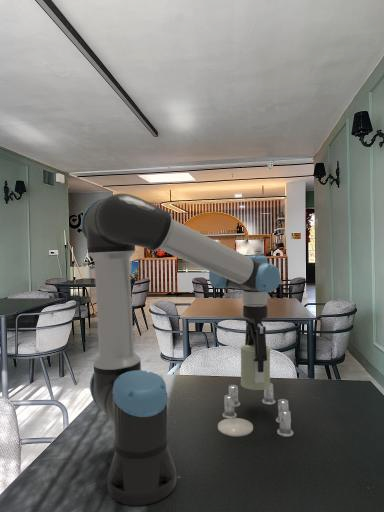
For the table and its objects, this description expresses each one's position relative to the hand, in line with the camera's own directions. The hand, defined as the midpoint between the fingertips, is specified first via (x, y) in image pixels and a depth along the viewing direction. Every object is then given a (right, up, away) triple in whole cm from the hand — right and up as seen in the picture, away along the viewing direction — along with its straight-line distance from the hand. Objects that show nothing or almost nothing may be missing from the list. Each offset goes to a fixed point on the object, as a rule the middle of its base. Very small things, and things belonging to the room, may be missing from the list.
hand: (255, 376), depth 118 cm
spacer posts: (0, -11, -3) cm, 12 cm away
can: (0, -3, 0) cm, 3 cm away
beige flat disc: (-7, -12, -9) cm, 17 cm away
